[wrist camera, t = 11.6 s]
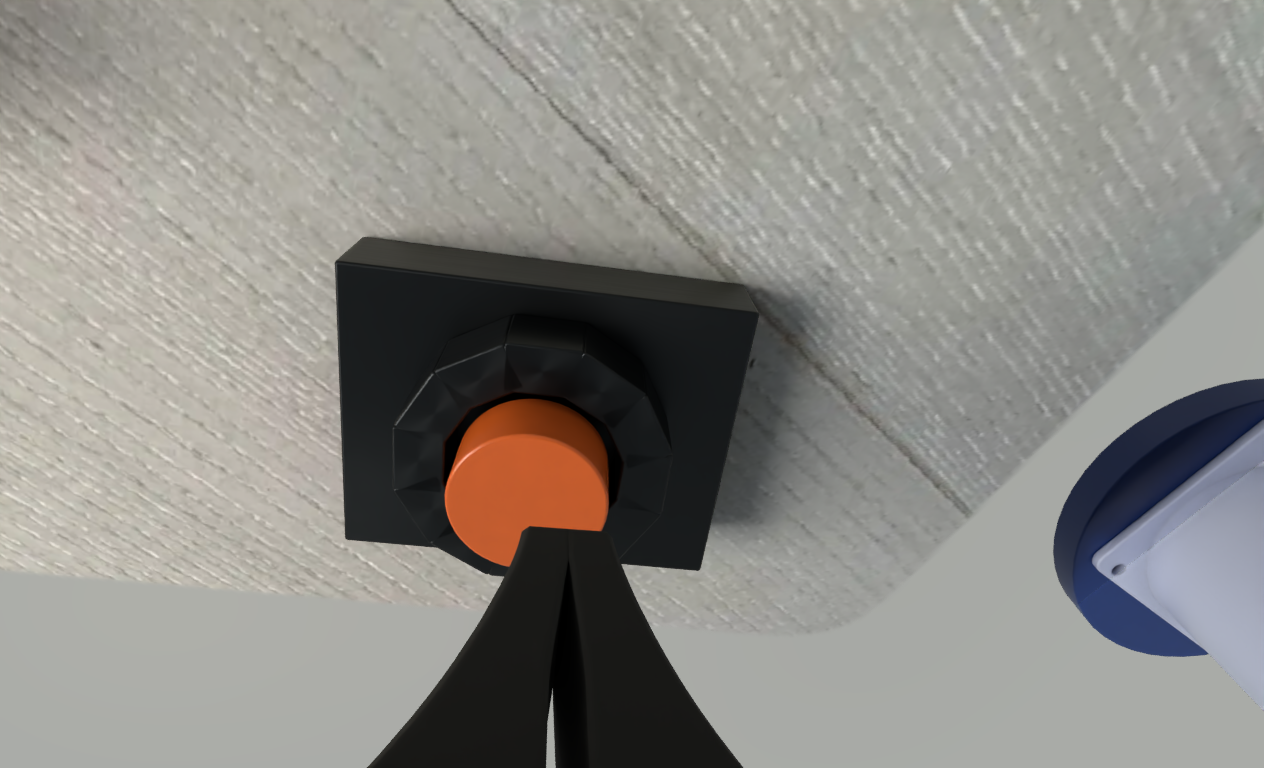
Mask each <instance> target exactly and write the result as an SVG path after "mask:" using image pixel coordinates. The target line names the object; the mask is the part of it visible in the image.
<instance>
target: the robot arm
mask: <svg viewBox="0 0 1264 768" xmlns="http://www.w3.org/2000/svg"><path fill="white" fill-rule="evenodd" d="M1092 564H1093V565H1094V566H1095V567H1096V569H1097V570H1098V571H1099V572H1101V573H1102V574H1103V575H1105V576H1106V577H1107V578H1109V579H1110V580H1111V581H1113V582H1114V583H1115V584H1117V585H1118V586H1119V587H1121V588H1122V589H1123V590H1125V591H1126V592H1127V593H1129V594H1130V595H1132V596H1133V597H1134V598H1136V599H1137V600H1138V601H1140V602H1141V603H1142V604H1144V605H1145V606H1146V607H1148V608H1149V609H1150V610H1152V611H1153V612H1154V613H1156V614H1157V615H1158V616H1160V617H1161V618H1163V619H1164V620H1165V621H1167V622H1168V623H1169V624H1171V625H1172V626H1173V627H1175V628H1176V629H1177V630H1179V631H1180V632H1181V633H1183V634H1184V635H1185V636H1187V637H1188V638H1189V639H1191V640H1192V641H1193V642H1195V643H1196V644H1198V645H1199V646H1200V647H1202V648H1203V649H1204V650H1205V651H1206V652H1207V653H1208V654H1209V655H1210V656H1211V657H1212V658H1213V659H1214V660H1215V661H1216V662H1217V663H1218V664H1219V665H1220V666H1221V667H1222V668H1223V669H1224V670H1225V671H1226V672H1227V673H1228V674H1229V676H1230V677H1231V678H1232V679H1233V680H1234V681H1235V682H1236V683H1237V684H1238V685H1239V686H1240V687H1241V688H1242V689H1243V690H1244V691H1245V692H1246V693H1247V694H1248V695H1249V696H1250V697H1251V698H1252V699H1253V700H1254V702H1255V703H1256V704H1257V705H1258V706H1259V707H1260V708H1261V709H1262V710H1263V711H1264V419H1263V420H1261V421H1260V422H1259V423H1258V424H1256V425H1255V426H1254V427H1253V428H1251V429H1250V430H1249V431H1248V432H1246V433H1245V434H1244V435H1243V436H1241V437H1240V438H1239V439H1238V440H1236V441H1235V442H1234V443H1233V444H1231V445H1230V446H1229V447H1227V448H1226V449H1225V450H1224V451H1222V452H1221V453H1220V454H1219V455H1217V456H1216V457H1215V458H1214V459H1212V460H1211V461H1210V462H1209V463H1207V464H1206V465H1205V466H1204V467H1202V468H1201V469H1200V470H1199V471H1197V472H1196V473H1195V474H1194V475H1192V476H1191V477H1190V478H1189V479H1187V480H1186V481H1185V482H1184V483H1182V484H1181V485H1180V486H1179V487H1177V488H1176V489H1175V490H1173V491H1172V492H1171V493H1170V494H1168V495H1167V496H1166V497H1165V498H1163V499H1162V500H1161V501H1160V502H1158V503H1157V504H1156V505H1155V506H1153V507H1152V508H1151V509H1150V510H1148V511H1147V512H1146V513H1145V514H1143V515H1142V516H1141V517H1140V518H1138V519H1137V520H1136V521H1135V522H1133V523H1132V524H1131V525H1130V526H1128V527H1127V528H1126V529H1124V530H1123V531H1122V532H1121V533H1119V534H1118V535H1117V536H1116V537H1114V538H1113V539H1112V540H1111V541H1109V542H1108V543H1107V544H1106V545H1104V546H1103V547H1102V548H1101V549H1099V550H1098V551H1097V552H1096V553H1095V554H1094V555H1093V558H1092ZM1115 566H1116V567H1115ZM552 688H553V711H554V738H555V762H556V768H743V767H742V766H741V764H740V763H739V762H738V760H737V759H736V758H735V756H734V755H733V754H732V753H731V751H730V750H729V749H728V747H727V746H726V745H725V743H724V742H723V741H722V740H721V739H720V737H719V736H718V734H717V733H716V732H715V730H714V729H713V728H712V726H711V725H710V723H709V722H708V720H707V719H706V718H705V716H704V715H703V713H702V712H701V711H700V709H699V708H698V706H697V705H696V703H695V702H694V700H693V699H692V697H691V696H690V694H689V693H688V691H687V690H686V688H685V686H684V685H683V683H682V682H681V680H680V679H679V677H678V675H677V674H676V672H675V670H674V669H673V667H672V665H671V664H670V662H669V660H668V659H667V657H666V655H665V653H664V652H663V650H662V648H661V647H660V645H659V643H658V641H657V639H656V638H655V636H654V633H653V631H652V630H651V628H650V626H649V624H648V622H647V620H646V618H645V616H644V614H643V612H642V610H641V608H640V606H639V604H638V602H637V600H636V598H635V596H634V593H633V591H632V589H631V587H630V584H629V582H628V580H627V577H626V575H625V573H624V570H623V568H622V565H621V562H620V560H619V557H618V554H617V551H616V548H615V545H614V542H613V538H612V537H611V536H610V535H609V534H608V532H604V531H591V530H577V529H563V528H550V527H536V526H529V527H527V528H526V529H524V530H523V531H522V532H521V536H520V541H519V544H518V547H517V549H516V552H515V555H514V557H513V560H512V562H511V564H510V566H509V568H508V571H507V573H506V575H505V577H504V579H503V581H502V583H501V585H500V587H499V589H498V590H497V592H496V594H495V596H494V597H493V599H492V601H491V603H490V605H489V606H488V608H487V610H486V612H485V614H484V615H483V617H482V619H481V620H480V622H479V624H478V625H477V627H476V629H475V630H474V632H473V633H472V635H471V636H470V638H469V639H468V641H467V642H466V644H465V645H464V647H463V648H462V650H461V652H460V653H459V654H458V656H457V657H456V659H455V661H454V662H453V663H452V665H451V666H450V667H449V669H448V671H447V672H446V673H445V675H444V676H443V677H442V679H441V680H440V681H439V683H438V684H437V685H436V687H435V688H434V689H433V691H432V692H431V693H430V695H429V696H428V697H427V699H426V700H425V701H424V702H423V703H422V705H421V706H420V707H419V709H418V710H417V711H416V712H415V713H414V715H413V716H412V717H411V719H410V720H409V721H408V722H407V723H406V724H405V725H404V726H403V728H402V729H401V730H400V731H399V732H398V733H397V735H396V736H395V737H394V738H393V739H392V740H391V742H390V743H389V744H388V745H387V746H386V747H385V748H384V750H383V751H382V752H381V753H380V754H379V755H378V756H377V758H376V759H375V760H374V761H373V762H372V763H371V764H370V765H369V766H368V767H367V768H546V747H547V746H546V744H547V721H548V714H549V707H550V701H551V695H552Z"/></svg>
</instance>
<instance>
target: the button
mask: <svg viewBox="0 0 1264 768" xmlns="http://www.w3.org/2000/svg"><path fill="white" fill-rule="evenodd" d="M445 507H446V512H447V516H448V518H449V521H450V524H451V525H452V527H453V529H454V531H455V532H456V534H457V535H458V536H459V538H460V539H461V540H462V541H463V542H464V543H465V544H466V545H467V546H468V547H469V548H470V549H471V550H473V551H474V552H475V553H477V554H479V555H480V556H482V557H483V558H486V559H488V560H490V561H492V562H494V563H497V564H500V565H504V566H508V567H509V566H510V564H511V562H512V560H513V557H514V555H515V552H516V549H517V547H518V544H519V541H520V536H521V532H522V531H523V530H524V529H526V528H527V527H529V526H536V527H550V528H563V529H577V530H591V531H602V529H603V527H604V525H605V522H606V519H607V515H608V509H609V464H608V455H607V451H606V447H605V445H604V442H603V440H602V438H601V436H600V435H599V433H598V431H597V430H596V429H595V428H594V426H593V425H592V424H591V423H590V422H589V421H588V420H587V419H586V418H584V417H583V416H582V415H580V414H579V413H578V412H576V411H574V410H573V409H571V408H569V407H567V406H564V405H562V404H560V403H556V402H553V401H549V400H543V399H518V400H513V401H508V402H505V403H502V404H499V405H497V406H495V407H493V408H491V409H489V410H487V411H486V412H484V413H483V414H481V415H480V416H479V417H478V418H477V419H475V421H474V422H473V423H472V424H471V425H470V426H469V428H468V429H467V431H466V432H465V434H464V436H463V438H462V440H461V443H460V446H459V449H458V452H457V454H456V457H455V460H454V463H453V466H452V469H451V472H450V475H449V478H448V481H447V485H446V489H445Z"/></svg>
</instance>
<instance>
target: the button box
mask: <svg viewBox="0 0 1264 768" xmlns="http://www.w3.org/2000/svg"><path fill="white" fill-rule="evenodd" d="M335 277H336V303H337V330H338V357H339V383H340V410H341V437H342V463H343V490H344V517H345V538H346V539H347V540H357V541H368V542H380V543H391V544H402V545H413V546H425V547H436V548H439V549H441V550H443V551H445V552H447V553H448V554H450V555H452V556H454V557H456V558H457V559H459V560H461V561H463V562H465V563H467V564H468V565H470V566H472V567H474V568H476V569H478V570H479V571H481V572H483V573H485V574H489V575H492V576H504V577H505V575H506V573H507V571H508V568H509V567H508V566H504V565H500V564H497V563H494V562H492V561H490V560H488V559H486V558H483V557H482V556H480V555H479V554H477V553H475V552H474V551H473V550H471V549H470V548H469V547H468V546H467V545H466V544H465V543H464V542H463V541H462V540H461V539H460V538H459V536H458V535H457V534H456V532H455V531H454V529H453V527H452V525H451V524H450V521H449V518H448V516H447V512H446V507H445V489H446V485H447V481H448V478H449V475H450V472H451V469H452V466H453V463H454V460H455V457H456V454H457V452H458V449H459V446H460V443H461V440H462V438H463V436H464V434H465V432H466V431H467V429H468V428H469V426H470V425H471V424H472V423H473V422H474V421H475V419H477V418H478V417H479V416H480V415H481V414H483V413H484V412H486V411H487V410H489V409H491V408H493V407H495V406H497V405H499V404H502V403H505V402H508V401H513V400H518V399H543V400H549V401H553V402H556V403H560V404H562V405H564V406H567V407H569V408H571V409H573V410H574V411H576V412H578V413H579V414H580V415H582V416H583V417H584V418H586V419H587V420H588V421H589V422H590V423H591V424H592V425H593V426H594V428H595V429H596V430H597V431H598V433H599V435H600V436H601V438H602V440H603V442H604V445H605V447H606V451H607V455H608V464H609V509H608V515H607V519H606V522H605V525H604V527H603V529H602V531H604V532H608V534H609V535H610V536H611V537H612V538H613V542H614V545H615V548H616V551H617V554H618V557H619V560H620V562H621V564H628V565H639V566H651V567H662V568H673V569H685V570H696V571H698V570H700V568H701V564H702V560H703V555H704V551H705V547H706V542H707V538H708V534H709V530H710V525H711V521H712V517H713V512H714V508H715V504H716V499H717V495H718V491H719V486H720V482H721V478H722V473H723V469H724V465H725V460H726V456H727V452H728V447H729V443H730V439H731V434H732V430H733V426H734V421H735V417H736V413H737V408H738V404H739V400H740V396H741V391H742V387H743V383H744V378H745V374H746V370H747V365H748V361H749V357H750V352H751V348H752V344H753V339H754V335H755V331H756V326H757V322H758V318H759V313H758V311H757V309H756V307H755V305H754V303H753V301H752V300H751V298H750V296H749V294H748V292H747V290H746V288H745V287H744V285H740V284H732V283H724V282H717V281H709V280H701V279H693V278H685V277H677V276H669V275H661V274H653V273H645V272H637V271H629V270H622V269H614V268H606V267H598V266H590V265H582V264H574V263H566V262H558V261H550V260H542V259H534V258H527V257H519V256H511V255H503V254H495V253H487V252H479V251H471V250H463V249H455V248H447V247H440V246H432V245H424V244H416V243H408V242H400V241H392V240H384V239H376V238H368V237H363V238H361V239H360V240H359V241H358V242H357V243H356V244H355V245H353V246H352V247H351V248H350V249H349V250H348V251H347V252H345V253H344V254H343V255H342V256H341V257H340V258H339V259H338V260H336V262H335Z"/></svg>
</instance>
